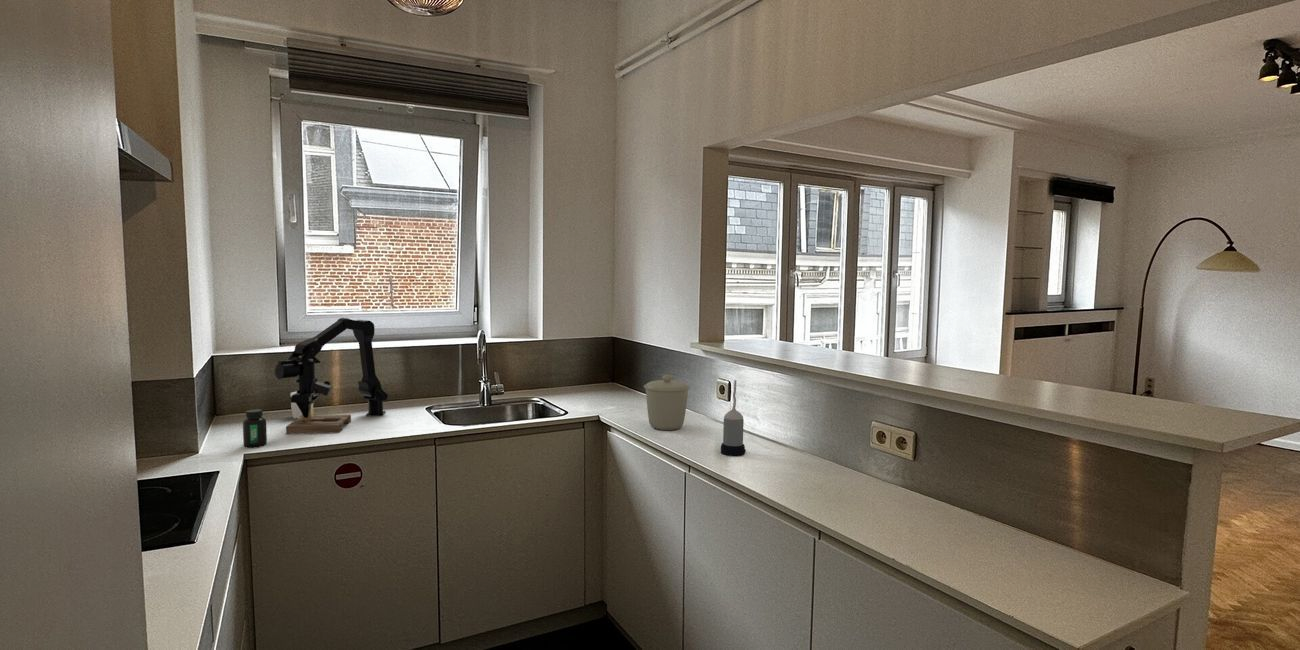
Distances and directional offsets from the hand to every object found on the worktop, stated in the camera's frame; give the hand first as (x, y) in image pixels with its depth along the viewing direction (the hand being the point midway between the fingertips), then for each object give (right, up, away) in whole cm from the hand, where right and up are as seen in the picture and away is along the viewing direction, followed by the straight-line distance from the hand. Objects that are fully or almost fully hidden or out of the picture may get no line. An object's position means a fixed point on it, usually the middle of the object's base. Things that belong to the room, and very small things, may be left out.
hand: (307, 416), depth 248 cm
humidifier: (+158, -9, -25) cm, 160 cm away
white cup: (-12, -3, +18) cm, 22 cm away
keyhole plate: (+4, -4, +1) cm, 6 cm away
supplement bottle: (-5, -7, -25) cm, 26 cm away
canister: (+136, -6, +10) cm, 137 cm away
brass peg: (0, -4, 0) cm, 4 cm away
